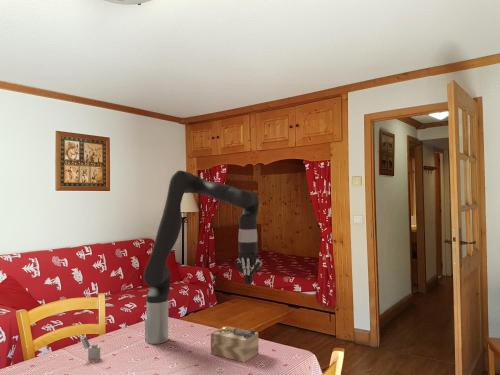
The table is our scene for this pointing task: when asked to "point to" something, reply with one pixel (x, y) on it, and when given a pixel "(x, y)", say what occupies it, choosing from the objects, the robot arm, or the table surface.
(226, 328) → the pin
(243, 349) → the block
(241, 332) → the grey handle
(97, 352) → the lighter
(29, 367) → the table surface
